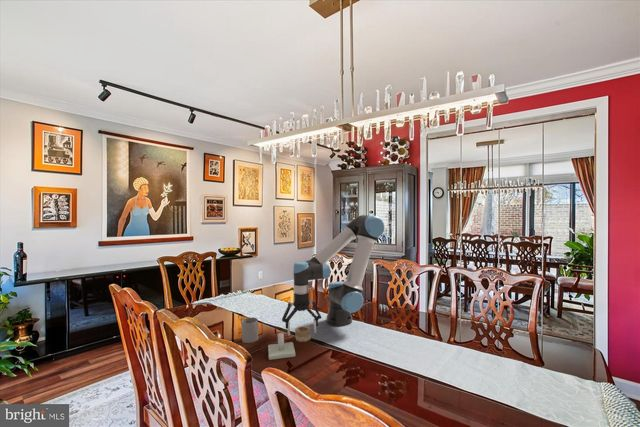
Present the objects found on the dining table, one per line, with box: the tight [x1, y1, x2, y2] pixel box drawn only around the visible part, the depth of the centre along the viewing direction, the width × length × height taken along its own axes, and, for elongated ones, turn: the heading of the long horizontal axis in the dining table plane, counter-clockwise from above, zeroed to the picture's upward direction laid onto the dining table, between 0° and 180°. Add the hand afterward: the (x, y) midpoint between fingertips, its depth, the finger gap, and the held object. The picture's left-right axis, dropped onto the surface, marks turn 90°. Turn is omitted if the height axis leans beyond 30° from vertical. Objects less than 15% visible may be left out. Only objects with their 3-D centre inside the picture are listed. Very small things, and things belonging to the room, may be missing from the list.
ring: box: [294, 325, 312, 343], centre depth 158 cm, size 8×8×5 cm
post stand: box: [267, 332, 296, 361], centre depth 144 cm, size 12×12×8 cm
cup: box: [240, 316, 259, 344], centre depth 160 cm, size 8×8×10 cm
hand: (302, 333), depth 158 cm, fingers open, 13 cm apart
